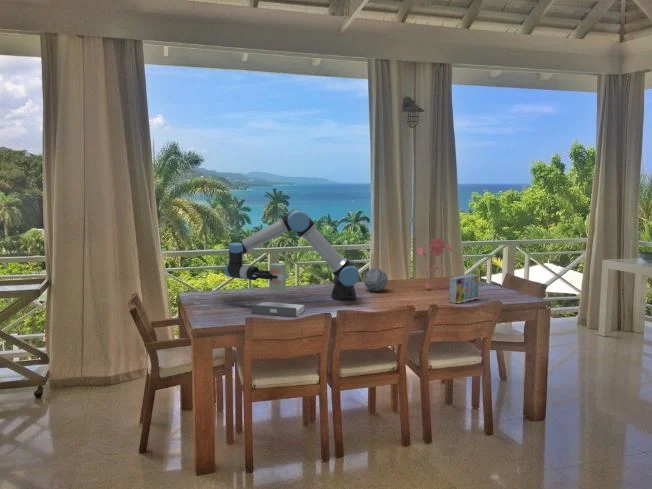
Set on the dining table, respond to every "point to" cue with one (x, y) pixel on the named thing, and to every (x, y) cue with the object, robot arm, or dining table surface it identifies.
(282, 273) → the carton
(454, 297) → the snack box
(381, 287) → the decorative orb
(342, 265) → the robot arm
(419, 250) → the figurine
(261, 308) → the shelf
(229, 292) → the dining table surface
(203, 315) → the dining table surface
